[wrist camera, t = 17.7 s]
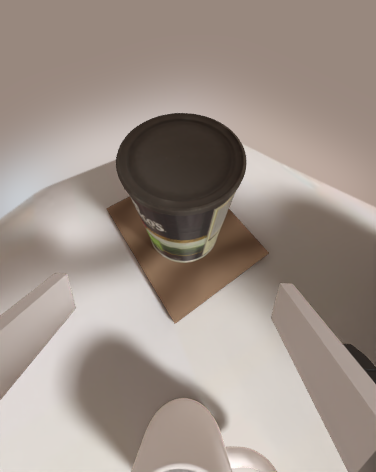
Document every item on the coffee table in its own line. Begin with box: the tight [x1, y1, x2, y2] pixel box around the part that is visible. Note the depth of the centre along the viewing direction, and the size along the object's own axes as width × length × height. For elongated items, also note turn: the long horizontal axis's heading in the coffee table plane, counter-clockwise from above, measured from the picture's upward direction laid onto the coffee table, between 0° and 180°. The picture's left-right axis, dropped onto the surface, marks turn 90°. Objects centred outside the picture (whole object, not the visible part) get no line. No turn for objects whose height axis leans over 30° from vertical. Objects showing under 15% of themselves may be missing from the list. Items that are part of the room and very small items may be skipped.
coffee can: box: [116, 113, 246, 263], centre depth 21 cm, size 10×10×14 cm
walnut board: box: [107, 197, 269, 323], centre depth 28 cm, size 20×16×1 cm
